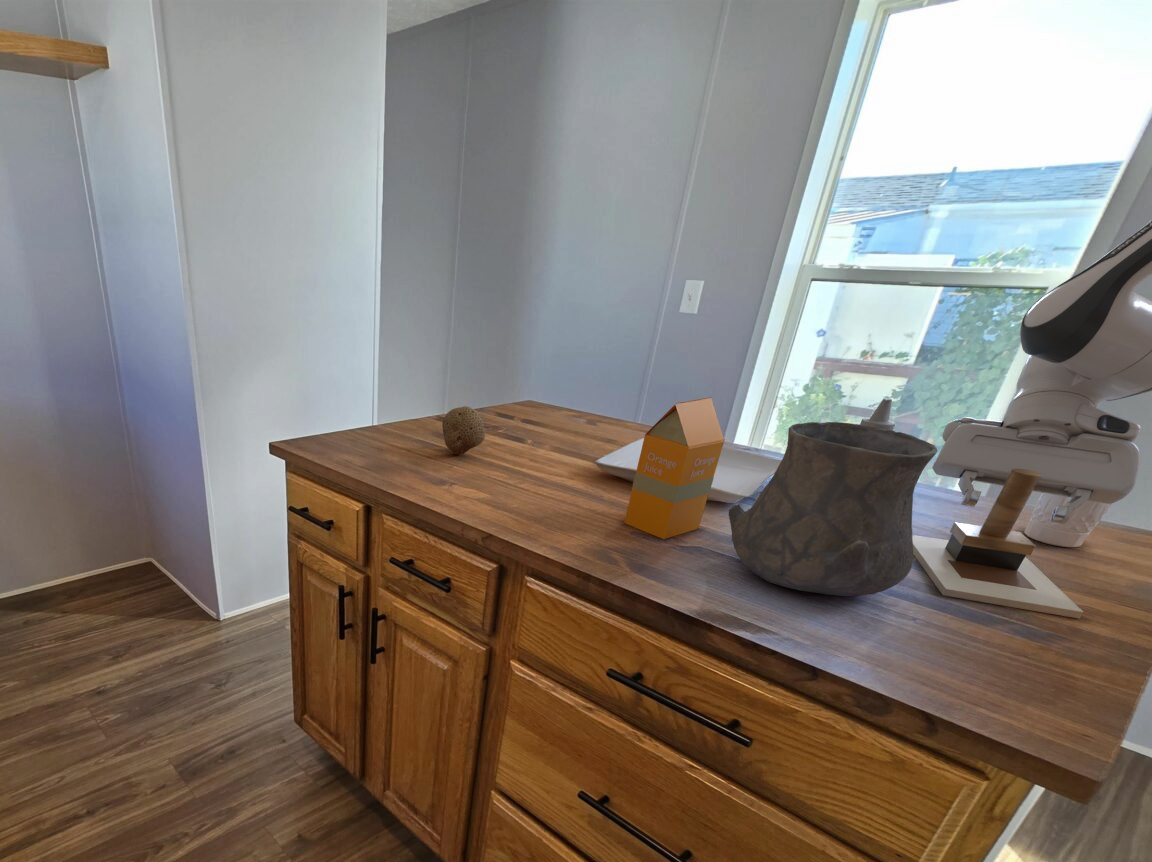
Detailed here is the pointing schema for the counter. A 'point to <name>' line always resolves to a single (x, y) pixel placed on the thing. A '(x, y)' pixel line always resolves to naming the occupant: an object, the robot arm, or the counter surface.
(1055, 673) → the counter surface
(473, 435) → the natural sponge
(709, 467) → the orange juice
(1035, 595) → the cream rectangular board
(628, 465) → the square plate
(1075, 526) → the white cup
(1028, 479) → the scrub brush
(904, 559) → the vessel
